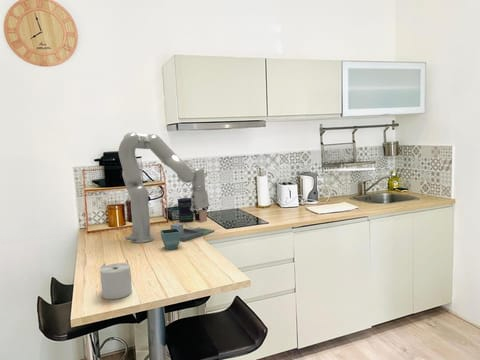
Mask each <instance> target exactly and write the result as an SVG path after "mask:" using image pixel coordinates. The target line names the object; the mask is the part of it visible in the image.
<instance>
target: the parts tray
mask: <svg viewBox="0 0 480 360" xmlns="http://www.w3.org/2000/svg"><path fill="white" fill-rule="evenodd" d="M191 229H192V228H191ZM191 229H190V228H187V227H183V231H184V235H183V236H180V242H184V243H185V242H188V241H191V240H194V239H197V238H201V237H203V236H204V235H203V232H201V231H196V230H191Z"/></svg>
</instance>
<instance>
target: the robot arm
mask: <svg viewBox="0 0 480 360" xmlns="http://www.w3.org/2000/svg"><path fill="white" fill-rule="evenodd" d="M136 149H139V150H141V149H142V150H150V151H151V152H152V153H153V154H154V155H155V156H156V157H157V158H158V159H159V160H160V162H162V163H163V164H164V165H165V166H167V167H168V168H170V169H171V170H172V171H173V172H174V173H175V174H176V176H177V180H180V181H181V182H183V183H187V184H188V183H191V191H192V192H191V197H190V198H191V202H192V206H191V208H190V210H191V211H192V212H193V215H194V221H195V220H198V221H199V214H198V212H199V210H200V209H201V210H206V213H208V212H207V211H208V209H209V207H210V201H209V194H208V192H207V190H206V180H205V169H204V168H203V167H194V168H190V167H189V166H188V165H187V163H185V161H183V160H182V159H181V158H180V157H179V155H177V154H176V153H175V152H174V151H173V149H171V148H170V146H169V145H167V143H166V142H165V141H164V140H163V139H162V138H161V137H160V136H159V135H157V134H153V133H152V134H146V133H145V134H144V133H136V132H129V133H126V134H125V135H124V136H123V139H122V140H121V142H120V144H119V146H118V157H119V161H120V164H121V168H122V174H121V175H122V178H123V182H124V185H125V187H126V191H127V194H128V196H129V198H130V213H131V224H132V233H130V235H127V236H125V237H124V238H125V240H126V241H129V240H130V242H131V243H135V244H141V243H142V244H143V243H147V242H148V243H149V242H151V241H153V240H155V237H154V235H152V234H151V221H150V209H149V190H148V188H147V187H146V186H145V185H144V182H143V180H142V172H141V169H140V165H139V163H138V160H137V156H136ZM196 210H197V211H196Z"/></svg>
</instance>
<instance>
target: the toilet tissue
mask: <svg viewBox="0 0 480 360" xmlns="http://www.w3.org/2000/svg"><path fill="white" fill-rule="evenodd" d="M99 272H100V273H99V275H100V284H101V285H100V286H101V296H102V298H104V299H106V300H117V299H123V298H126V297H128V296H129V295H131V293H132V292H133V289H132V287H133V286H132V274H131V273H132V272H131V265H130V264H129V263H125V262H116V263H111V264H107V265H106V263H103V264H102V265H101V267H100V268H99Z"/></svg>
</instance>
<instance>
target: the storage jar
mask: <svg viewBox="0 0 480 360" xmlns="http://www.w3.org/2000/svg"><path fill="white" fill-rule="evenodd" d="M191 198H192V197H181V198H177V206H178V223H180V224H185V223H192V222H195V219H194V212H192V211H191V210H190V208H191V206H192V202H191Z"/></svg>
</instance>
